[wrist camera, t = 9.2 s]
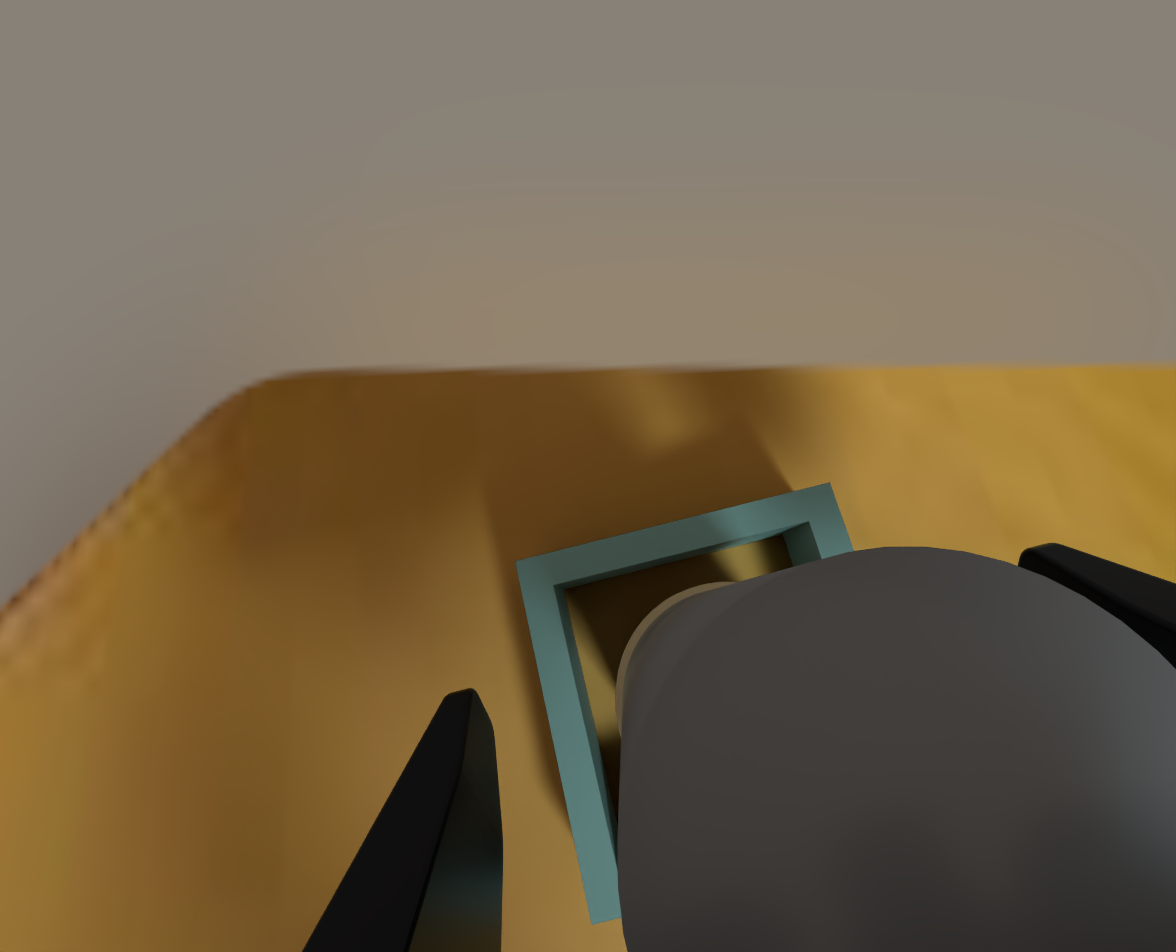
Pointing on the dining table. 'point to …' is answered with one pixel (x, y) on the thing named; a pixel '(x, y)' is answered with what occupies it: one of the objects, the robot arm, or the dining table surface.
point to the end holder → (543, 578)
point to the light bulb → (895, 765)
